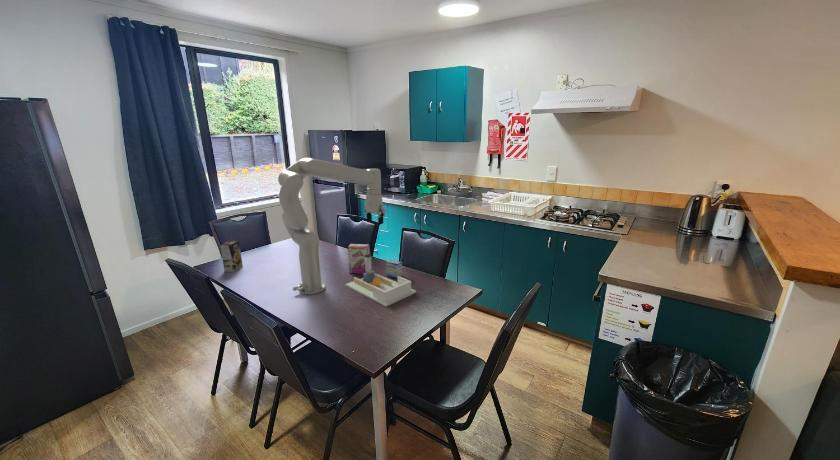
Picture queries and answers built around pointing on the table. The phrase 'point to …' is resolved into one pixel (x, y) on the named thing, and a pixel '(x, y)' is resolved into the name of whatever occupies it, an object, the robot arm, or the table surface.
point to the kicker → (368, 269)
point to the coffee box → (231, 256)
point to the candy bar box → (357, 257)
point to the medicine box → (393, 268)
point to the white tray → (383, 289)
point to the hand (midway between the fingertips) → (374, 222)
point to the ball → (376, 281)
